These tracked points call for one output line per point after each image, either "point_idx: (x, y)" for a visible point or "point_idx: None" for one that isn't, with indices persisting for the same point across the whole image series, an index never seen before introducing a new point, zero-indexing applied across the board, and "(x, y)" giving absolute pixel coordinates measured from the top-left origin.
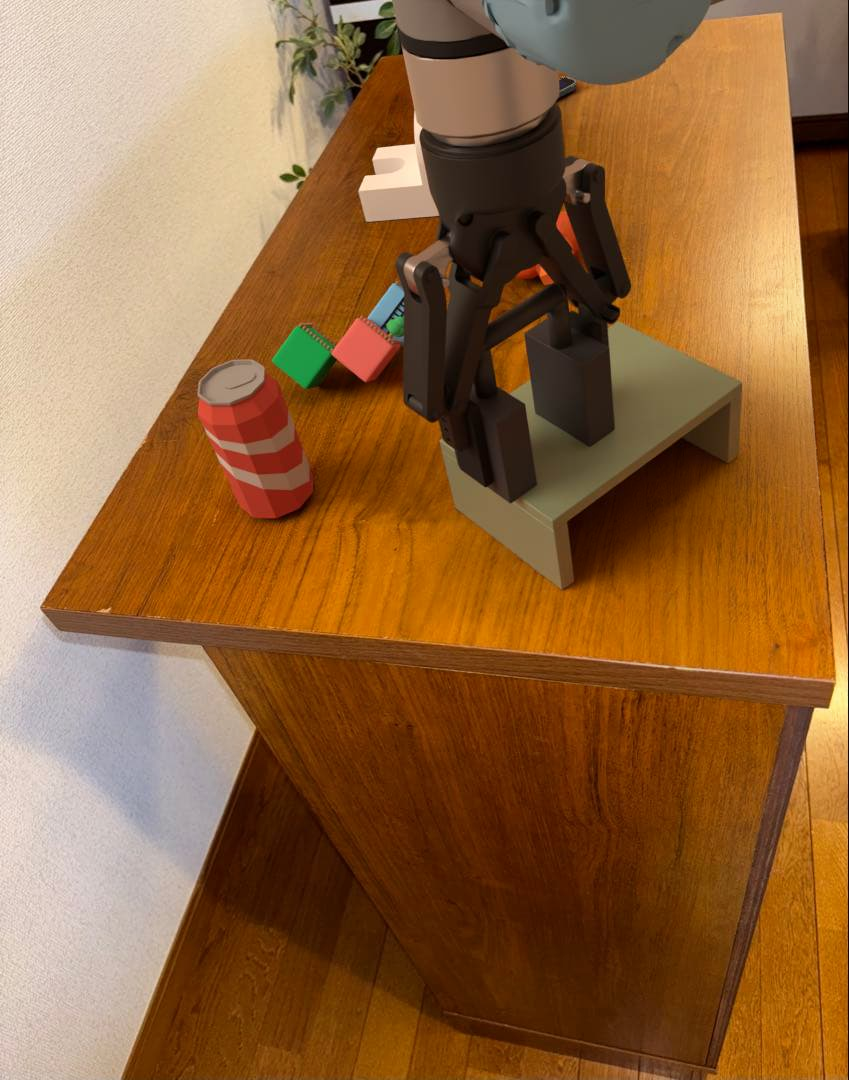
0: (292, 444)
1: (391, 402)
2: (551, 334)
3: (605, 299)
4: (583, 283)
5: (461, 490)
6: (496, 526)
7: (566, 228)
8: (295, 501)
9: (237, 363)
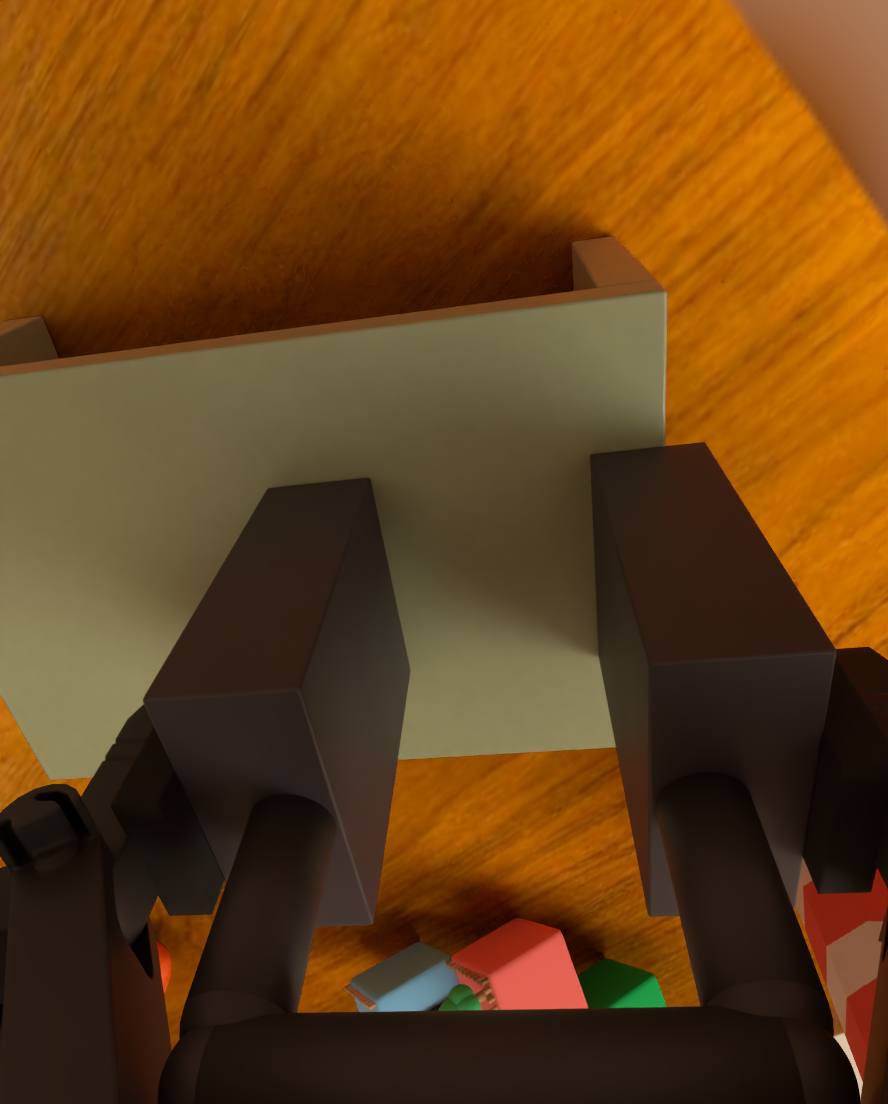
0: (873, 914)
1: (530, 866)
2: (322, 881)
3: (17, 908)
4: (57, 1086)
5: None
6: None
7: None
8: None
9: None
